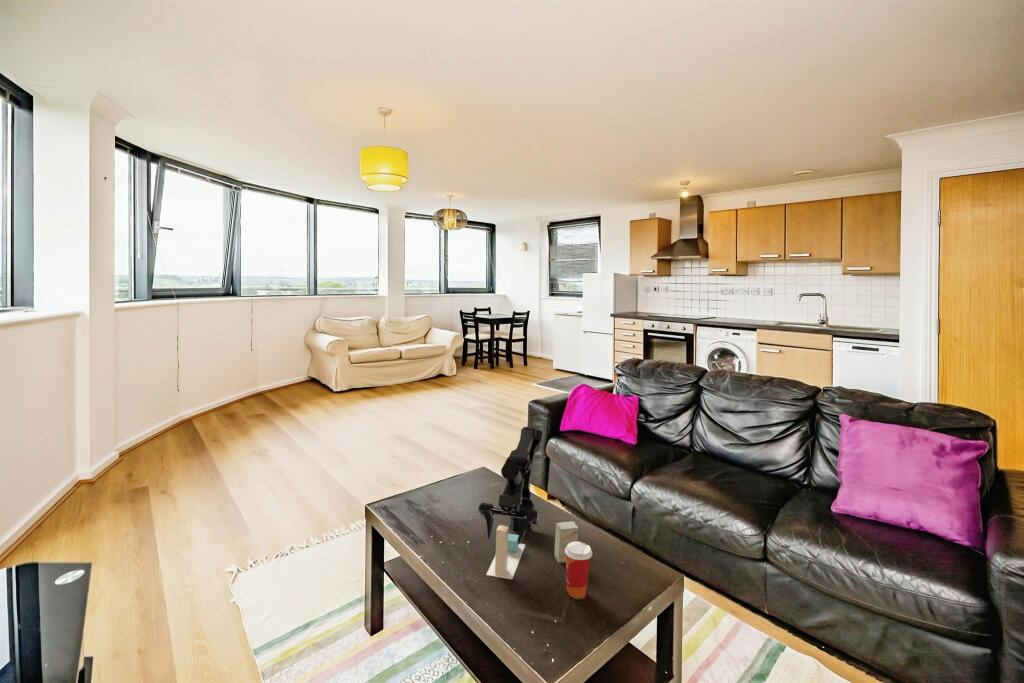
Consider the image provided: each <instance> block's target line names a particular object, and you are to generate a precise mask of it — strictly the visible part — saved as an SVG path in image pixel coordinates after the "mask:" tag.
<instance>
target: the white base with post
mask: <svg viewBox="0 0 1024 683" xmlns="http://www.w3.org/2000/svg"><path fill="white" fill-rule="evenodd" d="M509 529H510V527H509V525H501V524H498V526H497V528H496V530H495V531H496V533H495V555H494V558H493V559H492V562H491V564H490V566H489V568H488V570H487V572H486V574H485V575H486V576H491V577H495V578H502V579H507V580H513V578H514V576H515V573H516V570H517V568H518V565H519V564H520V560H521V558H522V554H523V553H524V550H525V548H526V544H525V543H520V544H519V545H518V549H517V551H516V553H511V552H508V534H509Z"/></svg>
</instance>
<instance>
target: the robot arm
mask: <svg viewBox="0 0 1024 683" xmlns="http://www.w3.org/2000/svg"><path fill="white" fill-rule="evenodd" d="M544 437H545V433H544V431H542V430H541V429H537V428H536V427H534V426H523V427H522V428H521V429H520V436H519V441H518V443H517V447H516V448H515V449H514V450H512V451H511V452H510V453H509V456H508V457H507V458H506V460H505V462H504V464H503V465H502V467H501V469H500V473H501V476H502V478H503V480H504V481H503V482H504V483H505V484H504V489H503V493H502V494H499V496H498V502H497V503H498V504H497V505H498V506H499V508H498V507H494V505H493V503H487V502H481V503H479V506H478V513H479V515H480V517H483V519H484V520H485V522H486V528H487V529H486V530H487V538H488V540H489V541H490V540H491V539H492V538H491V537H492V532H493V527H494V516H496V515H498V516H503V517H509V520H510V522H509V525H508V526H509V529H511V530H512V531H519V538H518V545H519V544H521V543H522V541H523V539H524V537H525V535H526V534H527V533H528V532H533V527H534V526H535V525H539V522H540V514H539V512H538V511H537V509H536V508H535V506H536V505H535V502H534V500H533V496H532V493H531V490H530V487H531V482H532V477H533V476H532V474H533V469H534V465H535V458H536V454H537V452H538V451H539V450H540V449H541V447H542V444H543V443H544V439H545V438H544Z"/></svg>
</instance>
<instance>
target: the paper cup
mask: <svg viewBox="0 0 1024 683" xmlns="http://www.w3.org/2000/svg"><path fill="white" fill-rule="evenodd" d="M565 553H566V562H565V565H566V566H565V568H566V572H565V573H566V574H565V576H566V579H565V580H566V594H568V595H569V596H571V597H573V598H582V597H584V596H585V595H586V596H587V593H588V587H589V577H590V569H591V561H592V557H593V551H592V548H591V546H590V544H587V543H585V542H582V541H575V542H571V543H569V544H568V545H567V547H566V549H565ZM568 595H567V596H568ZM569 596H568V597H569Z"/></svg>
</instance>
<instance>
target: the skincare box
mask: <svg viewBox="0 0 1024 683" xmlns="http://www.w3.org/2000/svg"><path fill="white" fill-rule="evenodd" d="M554 537H555V538H554V539H555V540H554V551H553V552H554V555H553V556H554V558H555V560H556V561H557V563H558V564H564V563H566V553H565V549H566V547H567V545H568V544H569V543H571V542H575V541H578V537H579V526H578V525H577V523H576V522H575V521H574V520H572V521H560V522H555V534H554ZM578 542H579V541H578Z"/></svg>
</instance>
